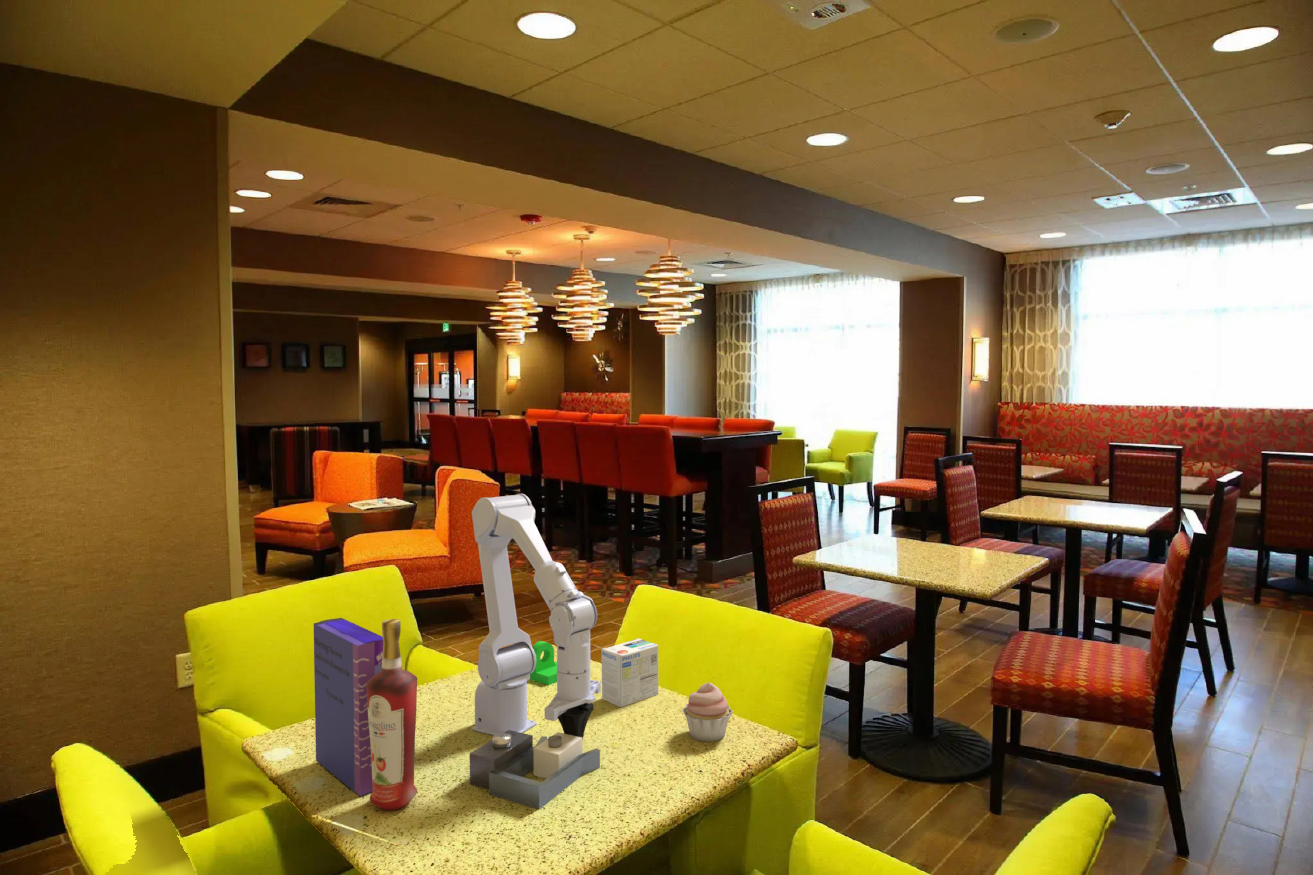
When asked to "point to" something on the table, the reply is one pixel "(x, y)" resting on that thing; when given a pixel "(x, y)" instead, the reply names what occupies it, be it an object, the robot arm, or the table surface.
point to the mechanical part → (544, 664)
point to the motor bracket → (523, 769)
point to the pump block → (555, 753)
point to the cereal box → (345, 699)
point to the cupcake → (707, 713)
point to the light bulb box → (629, 672)
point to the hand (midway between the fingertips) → (574, 746)
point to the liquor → (392, 725)
